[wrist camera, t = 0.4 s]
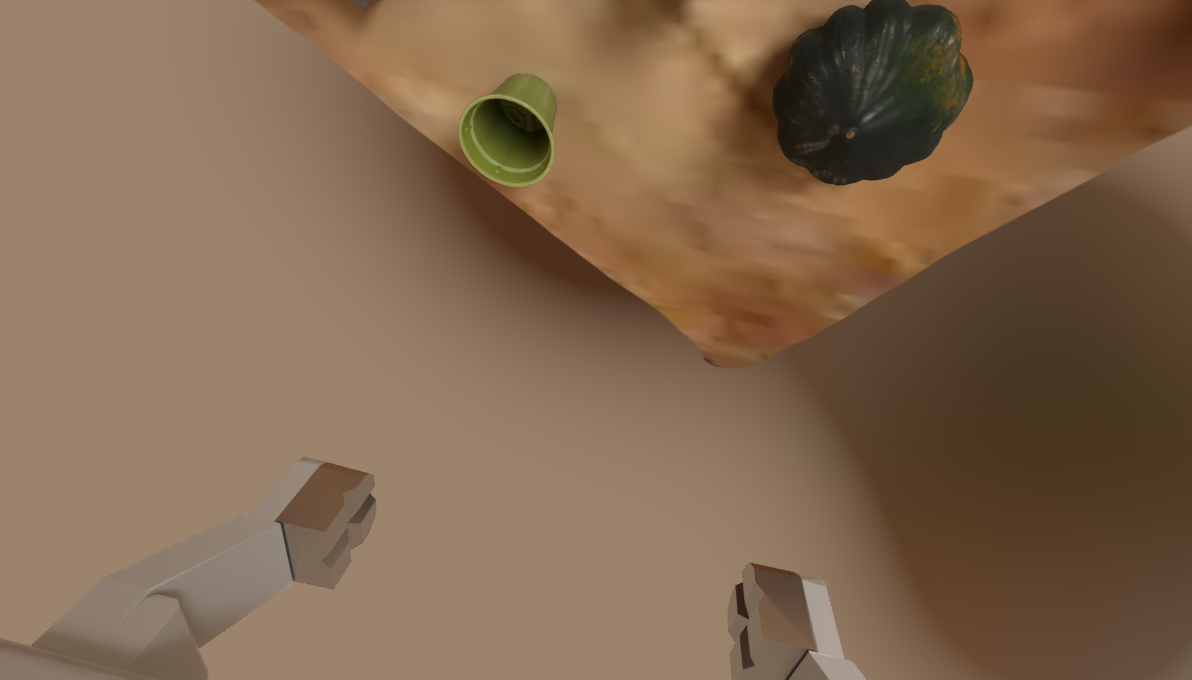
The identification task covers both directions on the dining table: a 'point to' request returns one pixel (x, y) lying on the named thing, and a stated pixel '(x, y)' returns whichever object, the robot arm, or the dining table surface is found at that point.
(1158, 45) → the dining table surface
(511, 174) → the plant pot
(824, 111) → the squash
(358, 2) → the grey square block
